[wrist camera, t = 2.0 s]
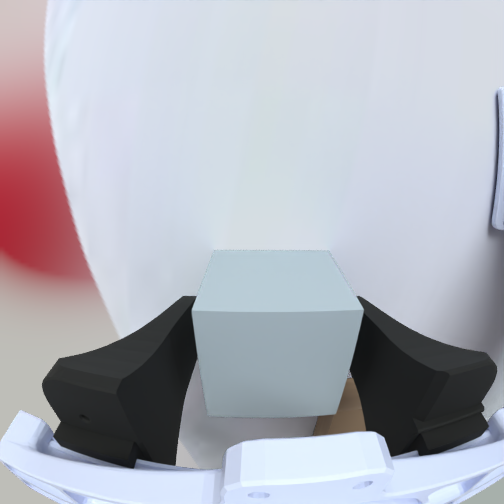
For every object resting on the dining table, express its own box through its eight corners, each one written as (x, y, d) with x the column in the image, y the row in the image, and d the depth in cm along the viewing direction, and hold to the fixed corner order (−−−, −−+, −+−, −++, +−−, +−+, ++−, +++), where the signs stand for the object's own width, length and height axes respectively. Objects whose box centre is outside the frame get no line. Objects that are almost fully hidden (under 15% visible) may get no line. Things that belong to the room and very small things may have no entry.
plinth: (468, 357, 15) (485, 379, 13) (417, 443, 19) (425, 462, 17) (327, 380, 15) (335, 411, 13) (304, 463, 19) (306, 486, 17)
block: (328, 249, 13) (363, 309, 8) (317, 340, 14) (335, 414, 10) (214, 249, 13) (191, 310, 8) (220, 340, 15) (207, 416, 10)
